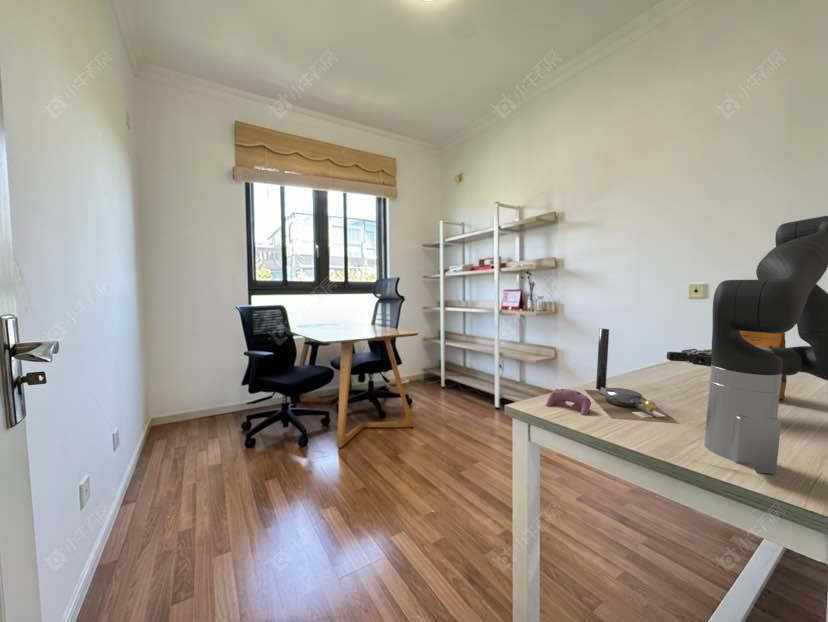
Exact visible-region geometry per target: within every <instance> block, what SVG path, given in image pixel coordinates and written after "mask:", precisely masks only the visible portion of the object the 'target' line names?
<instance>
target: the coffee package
mask: <svg viewBox="0 0 828 622" xmlns="http://www.w3.org/2000/svg"><path fill="white" fill-rule="evenodd" d="M740 334H741V336H742V337H743V338H744V339H745V340H746V341H748V342H749V343H751V344H752V345H754V346H760V347H776V348H787V347H786V332H783V333H763V332H751V331H741V330H740ZM786 387H787V376H782V377H781V386H780V395H779V400H784V399H785V397H786V395H785V393H786Z"/></svg>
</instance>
